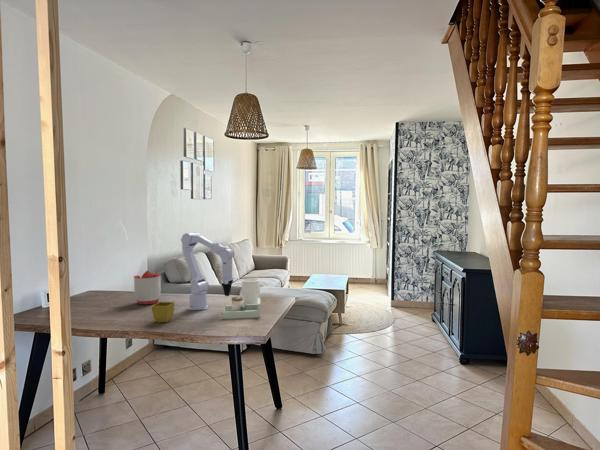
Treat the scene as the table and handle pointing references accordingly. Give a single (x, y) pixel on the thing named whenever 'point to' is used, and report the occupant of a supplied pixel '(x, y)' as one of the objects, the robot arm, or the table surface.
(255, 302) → the jar
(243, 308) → the plate
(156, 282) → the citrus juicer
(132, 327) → the table surface
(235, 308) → the spice jar
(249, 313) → the lane
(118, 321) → the table surface
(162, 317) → the flower pot
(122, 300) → the table surface
